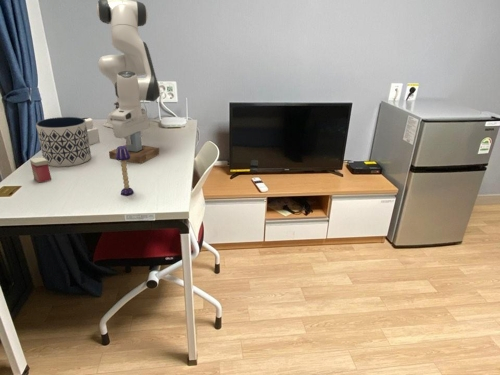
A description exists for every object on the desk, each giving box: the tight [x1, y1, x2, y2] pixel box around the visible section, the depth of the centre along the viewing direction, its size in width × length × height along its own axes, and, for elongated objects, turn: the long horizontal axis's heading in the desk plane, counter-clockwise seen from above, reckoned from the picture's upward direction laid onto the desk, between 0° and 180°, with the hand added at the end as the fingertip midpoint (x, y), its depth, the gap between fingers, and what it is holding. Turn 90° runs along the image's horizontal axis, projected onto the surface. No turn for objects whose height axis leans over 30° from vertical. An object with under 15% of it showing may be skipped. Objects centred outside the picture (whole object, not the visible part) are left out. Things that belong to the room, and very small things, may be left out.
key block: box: [125, 131, 143, 152], centre depth 152 cm, size 5×5×8 cm
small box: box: [29, 156, 52, 183], centre depth 126 cm, size 5×4×8 cm
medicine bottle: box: [81, 117, 100, 146], centre depth 167 cm, size 7×7×12 cm
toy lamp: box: [115, 145, 135, 197], centre depth 117 cm, size 5×5×17 cm
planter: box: [35, 116, 92, 168], centre depth 144 cm, size 18×18×16 cm
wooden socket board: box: [108, 144, 160, 165], centre depth 154 cm, size 16×14×3 cm
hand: (133, 143), depth 152 cm, fingers closed on key block, 4 cm apart
